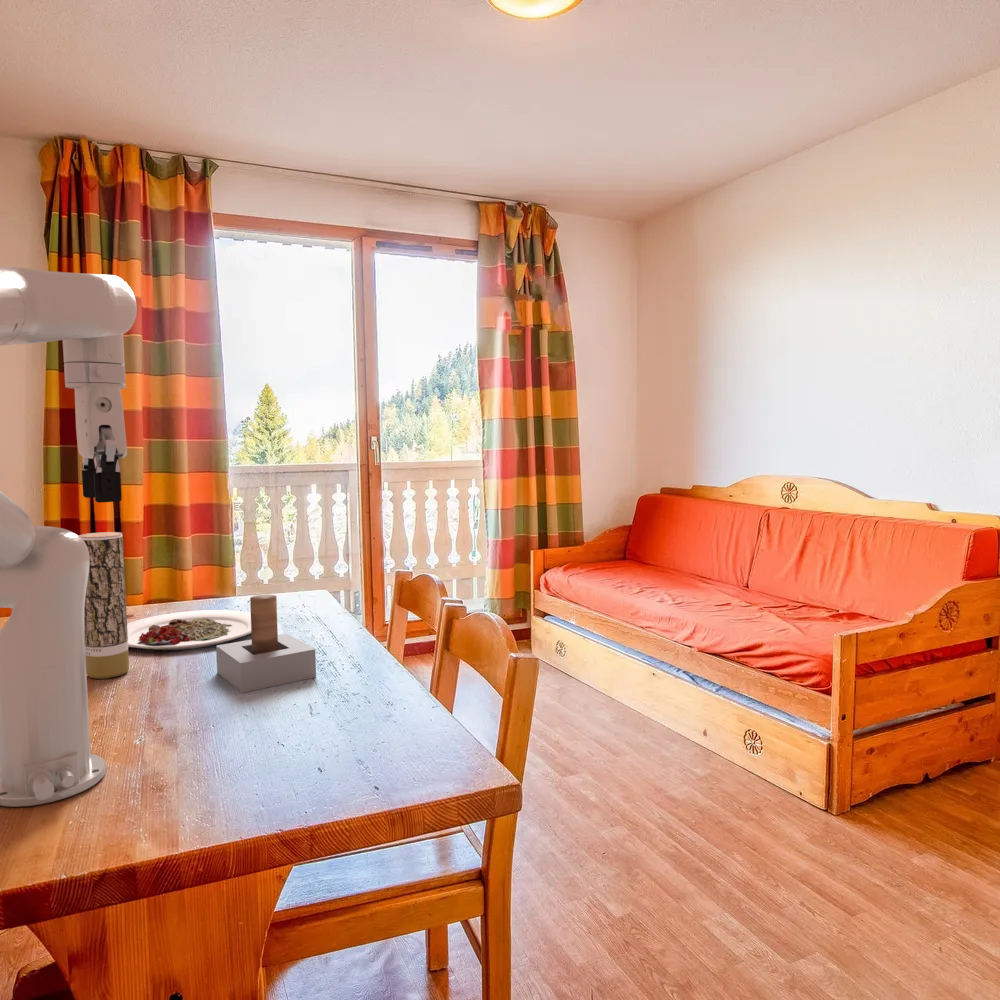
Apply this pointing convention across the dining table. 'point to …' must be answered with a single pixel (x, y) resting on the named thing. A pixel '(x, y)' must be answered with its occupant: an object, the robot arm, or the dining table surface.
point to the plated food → (188, 629)
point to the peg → (264, 624)
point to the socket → (265, 664)
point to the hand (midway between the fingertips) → (101, 499)
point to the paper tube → (105, 607)
